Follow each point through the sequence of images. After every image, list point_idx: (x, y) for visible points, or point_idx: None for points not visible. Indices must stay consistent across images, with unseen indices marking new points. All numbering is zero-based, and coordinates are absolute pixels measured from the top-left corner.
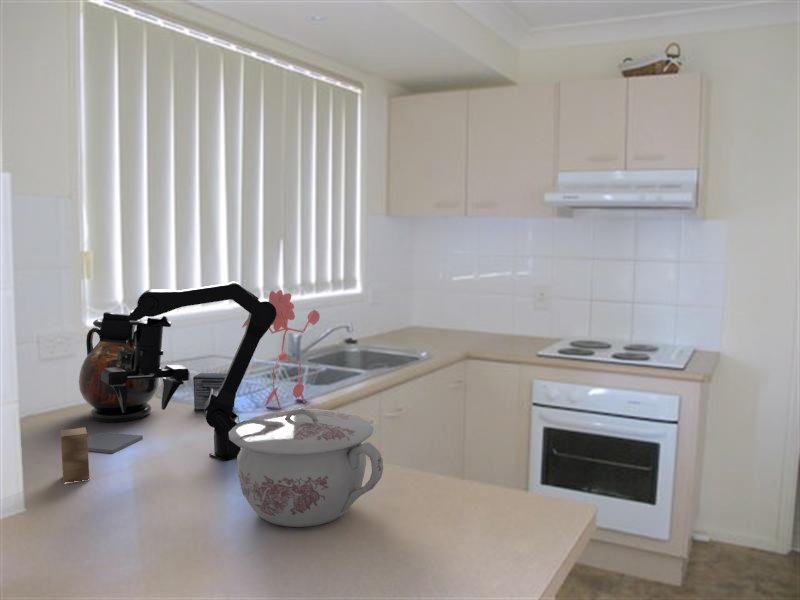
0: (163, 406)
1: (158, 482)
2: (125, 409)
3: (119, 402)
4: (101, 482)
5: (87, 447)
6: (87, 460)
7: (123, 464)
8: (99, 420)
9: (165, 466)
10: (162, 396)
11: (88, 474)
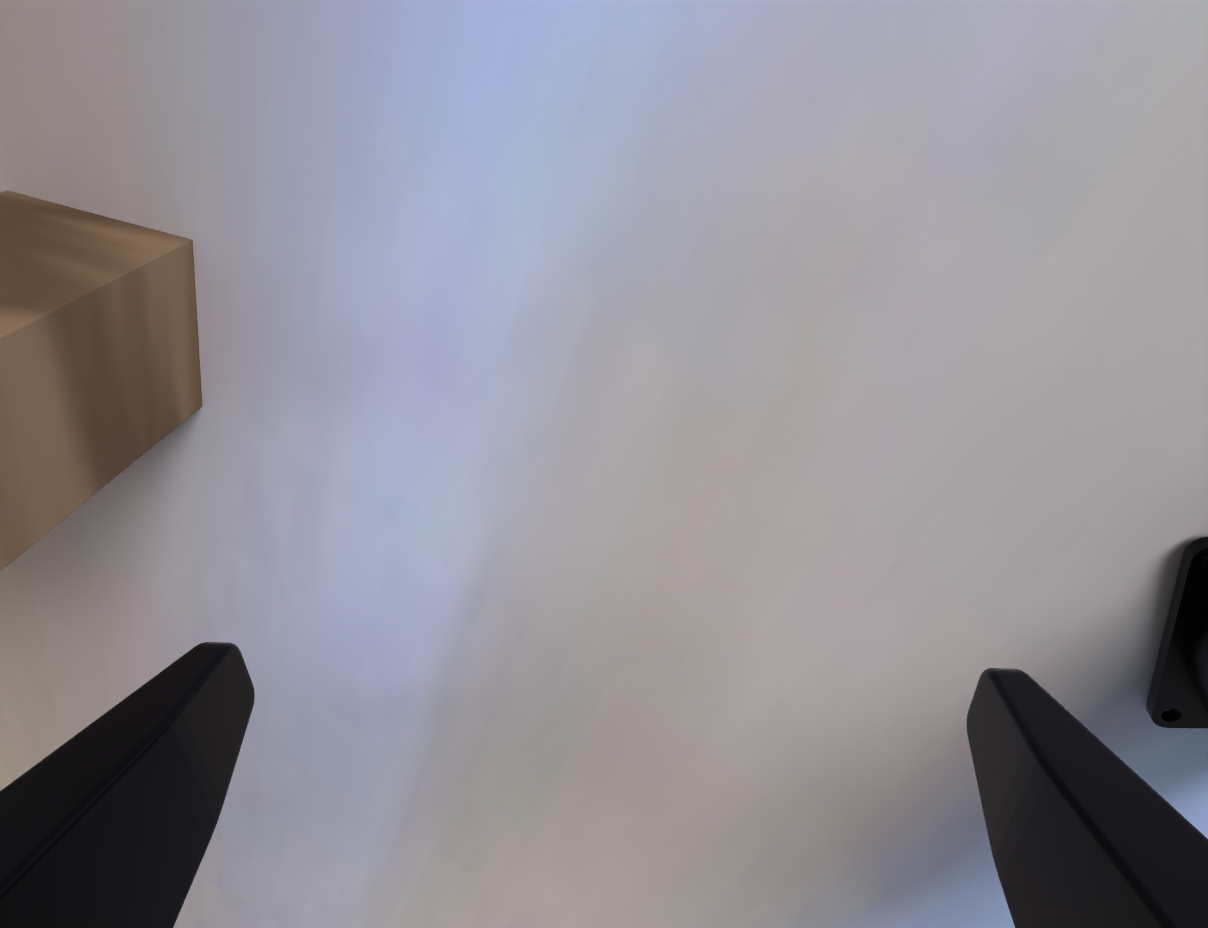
0: (985, 780)
1: (583, 708)
2: (219, 777)
3: (29, 788)
4: (275, 494)
5: (8, 560)
6: (91, 489)
7: (494, 231)
8: None
9: (757, 511)
10: (1125, 891)
11: (170, 427)
